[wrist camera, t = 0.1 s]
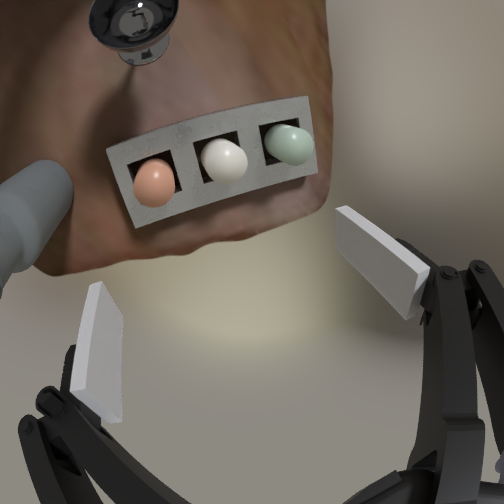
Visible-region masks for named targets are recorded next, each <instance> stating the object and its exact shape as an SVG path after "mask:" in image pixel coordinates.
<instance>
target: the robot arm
mask: <svg viewBox="0 0 504 504" xmlns="http://www.w3.org/2000/svg"><path fill="white" fill-rule="evenodd" d="M335 213H336V250H337V251H338V252H339V253H340V254H341V255H342V256H343V257H344V258H345V259H346V260H347V261H348V262H349V263H350V264H351V265H352V266H353V267H355V269H357V270H358V271H359V272H360V273H361V274H362V275H363V276H364V277H365V278H366V279H367V280H368V282H370V284H371V285H373V287H374V288H375V289H377V291H378V292H379V293H380V294H381V295H382V296H383V297H384V298H385V299H386V300H387V301H388V302H389V303H390V304H391V305H392V306H393V307H394V308H395V309H396V310H397V311H398V313H399V314H400V315H401V316H402V317H403V318H404V319H405V320H407V319H409V318H411V317H413V316H414V315H416V314H417V313H418V310H419V306H420V305H421V306H422V307H423V308H424V312H423V315H422V318H421V321H420V325H422V322H423V323H424V324H423V325H424V356H423V380H422V394H421V405H420V414H419V422H418V429H417V430H418V431H417V436H416V442H415V445H414V448H413V450H412V452H411V454H410V457H409V460H408V465H407V469H406V470H404V471H399V472H397V471H396V470H395V471H393V472H391V473H390V474H388V475H387V476H385V477H383V478H381V479H379V480H378V481H376V482H374V483H372V484H370V485H369V486H367V487H365V488H364V489H362V490H361V491H359V492H357V493H356V494H355V495H353V496H352V497H351V498H349V499H348V500H347V501H346V502H344V503H343V504H504V288H503V287H502V285H501V283H500V282H499V280H498V279H497V277H496V276H495V274H494V272H493V271H492V269H491V268H490V266H489V265H488V264H486V263H485V262H484V261H480V260H473V261H471V262H470V264H469V267H468V270H463V271H457V270H456V269H454V268H453V267H450V266H441V267H439V266H438V265H436V264H435V263H434V262H433V261H431V260H430V259H429V258H428V257H426V256H425V255H424V254H422V253H421V252H419V251H418V250H417V249H416V248H414V247H413V246H412V245H411V244H409V243H407V242H406V241H404V240H401V239H398V238H397V239H393V238H391V237H390V236H389V235H388V234H386V233H385V232H384V231H382V230H381V229H380V228H378V227H377V226H375V225H374V224H373V223H371V222H370V221H368V220H367V219H366V218H364V217H363V216H361V215H360V214H358V213H357V212H355V211H354V210H353V209H351V208H350V207H348V206H342V207H339V208H335ZM480 301H481V303H482V307H481V306H480V304H479V303H480ZM122 335H123V316H122V315H121V313H120V311H119V310H118V308H117V307H116V305H115V303H114V301H113V300H112V298H111V296H110V295H109V293H108V291H107V289H106V288H105V286H104V284H103V282H102V281H100V282H97V283H94V284H91V285H90V287H89V290H88V294H87V298H86V302H85V306H84V311H83V315H82V319H81V324H80V329H79V334H78V340H77V344H75V345H71V346H70V348H69V350H68V351H67V353H66V356H65V362H64V364H65V365H64V367H63V373H62V380H61V387H60V391H58V390H57V389H56V388H55V387H54V386H47V387H45V388H43V389H42V390H41V391H40V392H39V394H38V395H37V398H36V409H37V410H38V411H39V412H40V413H42V414H43V415H44V417H42V418H40V419H36V418H35V417H34V416H32V415H25V416H24V417H23V418H22V419H21V421H20V423H19V426H18V434H19V438H20V442H21V446H22V450H23V454H24V457H25V461H26V464H27V467H28V470H29V473H30V476H31V479H32V482H33V485H34V488H35V490H36V493H37V496H38V498H39V501H40V503H41V504H103V502H102V501H101V499H100V497H99V495H98V494H97V492H96V490H95V488H94V487H93V485H92V483H91V481H90V479H89V477H88V475H87V473H86V471H87V472H88V474H89V475H90V476H91V477H92V478H93V480H94V481H95V482H96V483H97V484H98V485H99V486H100V488H101V489H102V490H103V491H104V492H105V493H106V494H107V495H108V496H109V497H110V498H111V499H112V500H113V501H114V503H115V504H191V503H189V502H188V501H186V500H185V499H184V498H182V497H181V496H179V495H178V494H177V493H175V492H174V491H173V490H171V489H170V488H169V487H168V486H166V485H165V484H164V483H163V482H161V481H160V480H159V479H158V478H156V477H155V476H154V475H153V474H152V473H150V472H149V471H148V470H147V469H146V468H145V467H143V466H142V465H141V464H140V463H139V462H138V461H137V460H136V459H134V457H132V456H131V455H130V454H129V453H128V452H127V451H126V450H125V449H124V448H123V447H122V446H121V445H120V444H119V443H118V442H117V441H116V440H115V439H114V438H113V437H112V436H111V435H110V434H109V433H108V432H107V431H106V429H104V428H103V427H102V426H101V419H103V420H104V421H105V422H107V423H108V424H110V423H117V422H123V418H122V386H121V385H122V383H121V382H122V381H121V380H122V377H121V375H122V374H121V372H122V371H121V370H122V369H121V368H122ZM475 361H476V363H475ZM476 365H477V368H478V371H479V374H480V377H481V381H482V385H483V388H484V392H485V396H486V400H487V404H488V408H489V413H490V417H491V422H492V427H493V432H494V437H495V441H496V444H497V447H498V450H499V453H500V455H501V456H500V459H499V460H498V461H497V462H496V465H495V469H496V472H498V473H500V479H499V482H498V483H491V482H483V481H480V480H481V472H482V465H483V455H484V443H485V424H484V422H483V420H481V419H479V418H478V414H477V377H476ZM85 470H86V471H85Z"/></svg>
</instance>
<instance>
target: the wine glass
mask: <svg viewBox="0 0 504 504" xmlns="http://www.w3.org/2000/svg"><path fill="white" fill-rule="evenodd" d="M178 8H179V0H94V2H93V4H92V6H91V8H90V11H89V15H88V24H89V28H90V31H91V33H92V35H93V36H94V37H95V39H96V40H97V41H99V42H100V43H101V44H102V45H103V46H105V47H107V48H109V49H111V50H113V51H117V52H118V53H119V56H120V57H121V58H122V59H123V60H124V61H125V62H127V63H129V64H132V65H145V64H148V63H151V62H153V61H155V60H157V59H158V58H159V57H160V56H162V54H163V53H164V52H165V51H166V49H167V47H168V44H169V33H168V32H169V31H170V29H171V28H172V26H173V24H174V22H175V19H176V17H177V13H178Z"/></svg>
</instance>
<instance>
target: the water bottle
mask: <svg viewBox="0 0 504 504" xmlns="http://www.w3.org/2000/svg"><path fill="white" fill-rule="evenodd" d="M72 200H73V185H72V181H71V178H70V176H69V174H68V173H67V171H66V170H65V169H64V168H63V167H62V166H61V165H60V164H58V163H57V162H54V161H52V160H39V161H36V162H34V163H32V164H30V165H29V166H27V167H26V168H24V169H22V170H21V171H19V172H18V173H16V174H15V175H13V176H12V177H10V178H9V179H7V180H6V181H4V182H3V183H2V184H0V299H1V296H2V290H3V288H4V286H5V284H6V282H7V281H8V279H9V277H10V275H11V274H12V273H16V272H21V271H24V270H26V269H28V268H29V267H30V266H31V265H33V264H34V262H35V261H36V260H37V258H38V257H39V255H40V254H41V252H42V250H43V249H44V247H45V245H46V244H47V242H48V241H49V239H50V237H51V236H52V234H53V233H54V231H55V230H56V228H57V227H58V225H59V224H60V222H61V221H62V219H63V218H64V216H65V215H66V214H67V212H68V210H69V209H70V207H71V204H72Z"/></svg>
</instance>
